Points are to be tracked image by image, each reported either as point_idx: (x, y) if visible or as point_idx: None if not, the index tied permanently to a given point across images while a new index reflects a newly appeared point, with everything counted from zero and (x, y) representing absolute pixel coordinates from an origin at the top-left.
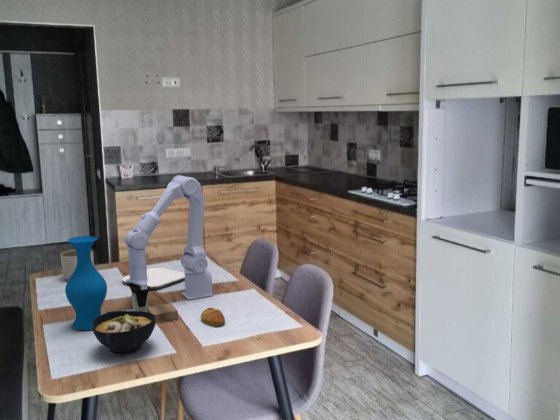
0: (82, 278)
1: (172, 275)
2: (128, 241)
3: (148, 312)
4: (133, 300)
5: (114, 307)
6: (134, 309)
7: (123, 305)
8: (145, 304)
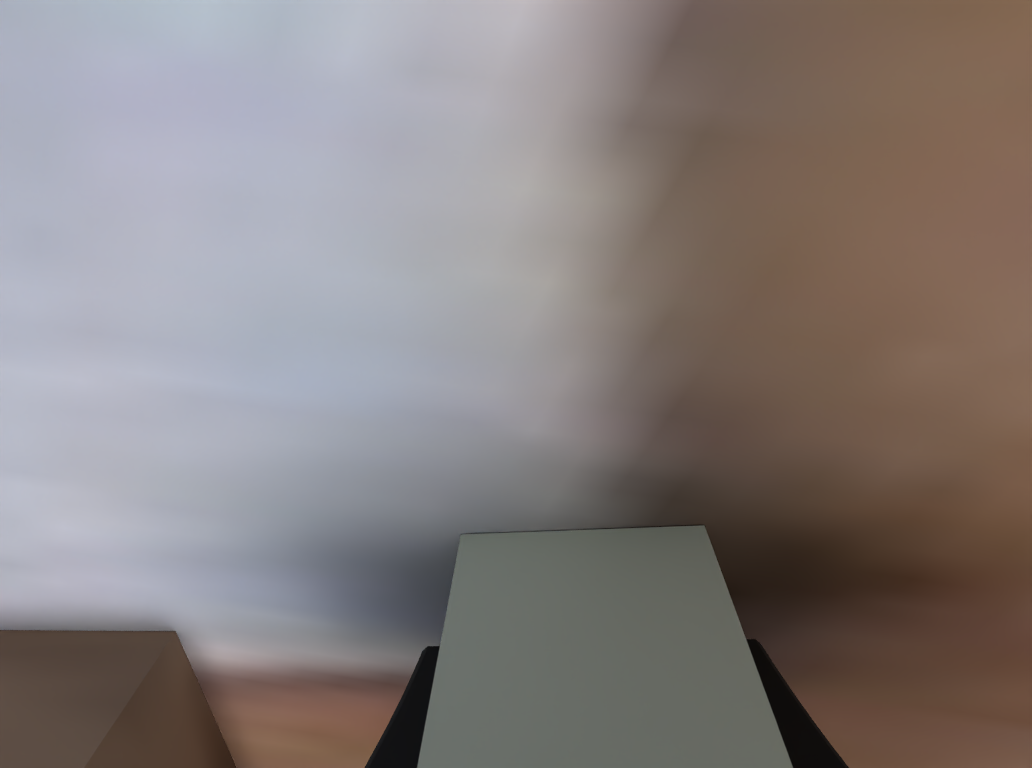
0: None
1: None
2: None
3: (42, 712)
4: (560, 697)
5: (953, 213)
6: (516, 544)
7: (932, 412)
8: None
